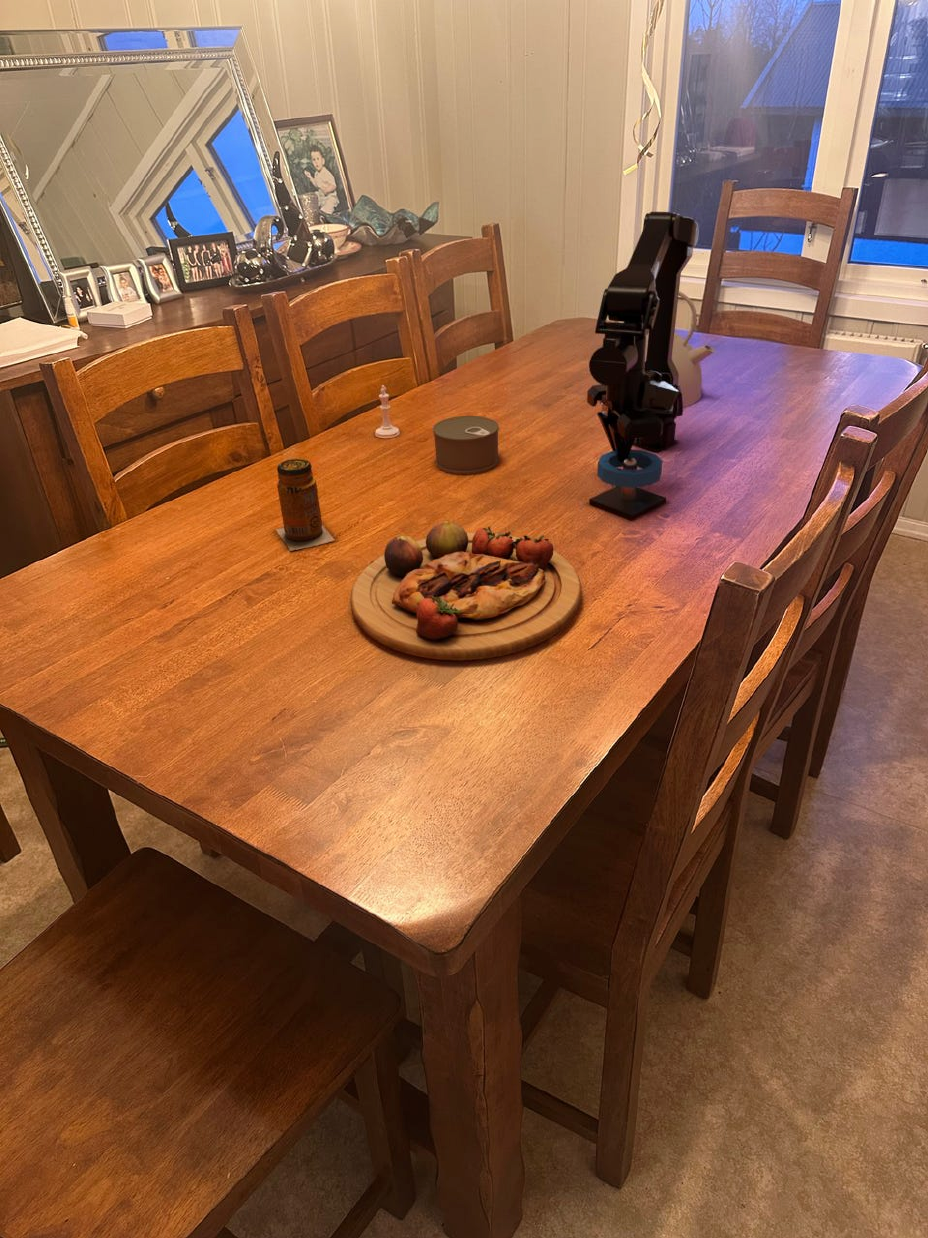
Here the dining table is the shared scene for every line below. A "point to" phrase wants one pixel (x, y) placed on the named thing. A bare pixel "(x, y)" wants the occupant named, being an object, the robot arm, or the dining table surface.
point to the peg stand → (628, 498)
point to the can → (466, 444)
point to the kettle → (687, 361)
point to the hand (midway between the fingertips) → (620, 459)
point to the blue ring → (630, 477)
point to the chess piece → (386, 418)
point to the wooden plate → (465, 594)
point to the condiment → (300, 506)
